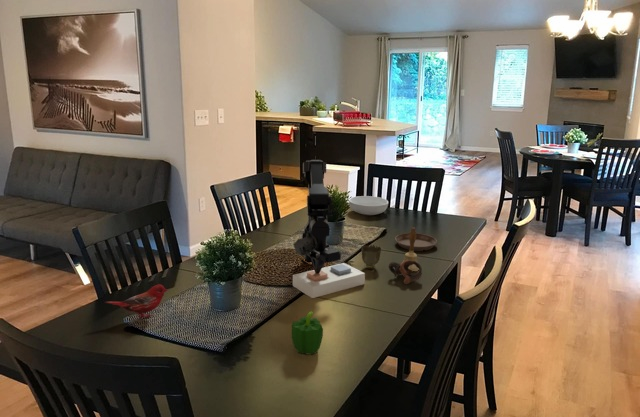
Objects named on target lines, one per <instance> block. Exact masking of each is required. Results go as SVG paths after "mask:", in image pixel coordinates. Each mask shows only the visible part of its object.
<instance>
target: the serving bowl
mask: <svg viewBox="0 0 640 417" xmlns="http://www.w3.org/2000/svg"><path fill="white" fill-rule="evenodd" d="M349 199H350V200H349ZM349 199H348V204H349V206H350V207H349V208H350V209H351V210H352V211H353V212H354V213H357V214H360V215H364V216H374V215H379V214H382V213H383V212H385V211H386V210H387V209H388V206H389V201H388V199H386V198H383V197H379V196H373V195H372V196H371V195H370V196H369V195H361V196H360V195H359V196H353V197H350V198H349Z"/></svg>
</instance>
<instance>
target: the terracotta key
mask: <svg viewBox="0 0 640 417" xmlns="http://www.w3.org/2000/svg"><path fill="white" fill-rule="evenodd" d="M310 271H311V272H307V271H306V272H307V278H309V279H311V280H313V281H314V282H316V281H320V280H324V279H327V277H328V274H326V273H325V272H323V271H320V273H318V274H316V273H315V271H312V270H310Z"/></svg>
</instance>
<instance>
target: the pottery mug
mask: <svg viewBox="0 0 640 417" xmlns="http://www.w3.org/2000/svg"><path fill="white" fill-rule="evenodd" d="M413 264H415V265H416V267H418V268H419V271H417V273H413V271H412V270H410V269H409V268H408V267H409V266H410V265H413ZM387 267H388V269H389V271H390V272H391V273H392V274H393V276H394V277H399V276H400V275H402V276H403V277H404V280H402V281H403V284H406V285H408V284H410V283H413V282H416V281H418V280H420V278H421V277H422V275H423V271H422V266H421V265H420V263H419V262H418V263H417V262H416V261H413V260H405V261H404V262H403V261H402V262H401V263H398V262H395V261H392V262H390V263H389V264H388V266H387Z"/></svg>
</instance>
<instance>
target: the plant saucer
mask: <svg viewBox="0 0 640 417" xmlns="http://www.w3.org/2000/svg"><path fill="white" fill-rule="evenodd" d="M409 234H410V232H407V233H401V234H398V235H396V236H395V237H394V238H395V241H396V243H397V244H398V246H399V247H400V248H403V249H406V250H408V251H409V249H410V241H409ZM437 242H438V240H437V239H436V238H435V237H433V236H432V235H429V234H424V233H417V232H416V240H415V243H414V251H416V252H421V251H423V250H425V251H428V250H431V249H432V248H434V247H435V246H436V244H437ZM423 252H424V251H423Z"/></svg>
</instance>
